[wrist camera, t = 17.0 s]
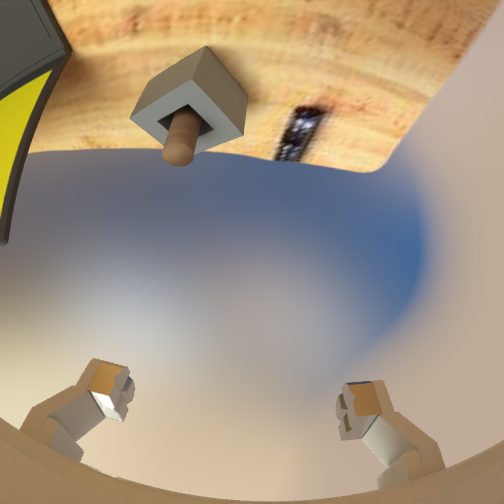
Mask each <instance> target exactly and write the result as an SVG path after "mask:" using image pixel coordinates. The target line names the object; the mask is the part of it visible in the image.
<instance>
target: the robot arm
mask: <svg viewBox="0 0 504 504" xmlns="http://www.w3.org/2000/svg"><path fill="white" fill-rule="evenodd" d="M129 373H130V371H129V369H128V367H126V366H122V365H118V364H114V363H110V362H106V361H103V360H99V359H95V358H94V359H92V360H91V361H90V362H89V364H88V365H87V367H86V369H85V371H84V372H83V374H82V376H81V377H80V379H79V381H78V382H77V384H76V386H70V387H69V388H67V389H65V390H63V391H62V392H60V393H58V394H56V395H54V396H52V397H51V398H49V399H47V400H45V401H43V402H42V403H40V404H38V405H36V406H34V407H32V409H31V410H30V412H29V414H28V416H27V417H26V419H25V421H24V422H23V424H22V426H21V428H20V430H18V429H17V428H15V427H13V426H12V425H10V424H9V423H7V422H6V421H5V420H3V419H2V418H0V504H504V440H503V441H501V442H499V443H497V444H496V445H494V446H492V447H491V448H489V449H486V450H485V451H483V452H481V453H479V454H477V455H475V456H473V457H471V458H468V459H466V460H464V461H462V462H460V463H458V464H455V465H453V466H450V467H448V468H446V467H445V464H444V461H443V459H442V455H441V452H440V450H439V447H438V444H437V442H435V440H433V439H432V438H431V437H429V436H428V435H427V434H425V433H424V432H423V431H422V430H420V429H419V428H418V427H417V426H415V425H414V424H413V423H412V422H410V421H409V420H408V419H407V418H405V417H404V416H403V415H402V414H400V413H399V412H395V411H394V408H393V405H392V402H391V400H390V397H389V394H388V391H387V389H386V386H385V383H384V381H383V380H377V381H363V382H352V383H345V384H344V385H343V387H342V392H343V393H342V394H340V395H339V397H338V399H337V402H336V414H337V418H338V419H339V420H340V421H341V423H340V425H339V431H340V437H341V440H353V439H362V441H363V442H364V443H365V444H366V445H367V447H368V448H369V449H370V450H371V451H372V452H373V453H374V454H375V455H376V456H377V458H378V459H379V460H380V461H381V462H382V463H383V464H384V465H385V466H386V467H387V469H386V470H385V471H384V472H383V473H382V474H381V475H379V477H378V478H377V482H378V487H379V489H378V490H374V491H369V492H365V493H359V494H353V495H347V496H341V497H334V498H325V499H315V500H303V501H279V502H278V501H277V502H276V501H273V502H271V501H270V502H269V501H268V502H266V501H265V502H264V501H240V500H227V499H217V498H209V497H201V496H195V495H189V494H183V493H178V492H173V491H168V490H163V489H160V488H155V487H151V486H147V485H144V484H140V483H136V482H133V481H129V480H127V479H123V478H120V477H117V476H114V475H112V474H109V473H106V472H103V471H100V470H98V469H95V468H93V467H90V466H88V465H85V464H83V463H80V461H81V458H82V456H83V453H84V452H83V449H82V448H81V447H80V446H79V445H78V444H77V443H76V441H77V440H78V439H80V438H81V437H82V436H84V435H85V434H86V433H87V432H89V431H90V430H91V429H92V428H94V427H95V426H96V425H97V424H99V423H100V422H101V421H102V420H104V419H105V417H106V418H110V419H114V420H117V421H121V422H124V419H125V417H126V414H127V412H128V407H127V404H128V403H129V402H131V401H132V399H133V396H134V391H135V386H134V382H133V380H132V379H131V378H130V377H129Z"/></svg>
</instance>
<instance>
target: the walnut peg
mask: <svg viewBox="0 0 504 504" xmlns="http://www.w3.org/2000/svg"><path fill="white" fill-rule="evenodd" d="M201 121H202V117H201V116H200V115H199V114H198V113H197V112H196V111H195V110H194V109H193V108H192V107H191V106H190V105H189V104H187V105H185V106H183V107H181V108H179V109H177V110H176V111H175V113H174V116H173V119H172V122H171V125H170V128H169V131H168V135H167V138H166V141H165V144H164V148H163V151H162V158H163V159H164V161H166V162H167V163H169V164H171V165H174V166H186V165H188V164H190V163H191V162H192V161H193V157H194V152H195V148H196V143H197V139H198V134H199V130H200V126H201Z"/></svg>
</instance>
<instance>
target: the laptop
mask: <svg viewBox="0 0 504 504" xmlns="http://www.w3.org/2000/svg"><path fill="white" fill-rule="evenodd" d="M71 50H72V49H71V47H70V45H69V43H68V41H67V40H66V38H65V36H64V34H63V32H62V30H61V28H60V26H59V25H58V23H57V21H56V19H55V17H54V15H53V13H52V11H51V9H50V7H49V5H48V3H47V1H46V0H0V246H3V245H6V244H7V243H8V240H9V233H10V226H11V220H12V214H13V209H14V204H15V199H16V194H17V190H18V186H19V182H20V178H21V174H22V170H23V166H24V163H25V160H26V157H27V154H28V150H29V147H30V144H31V141H32V139H33V136H34V133H35V130H36V128H37V125H38V122H39V120H40V117H41V115H42V112H43V110H44V108H45V105H46V103H47V101H48V99H49V96H50V94H51V92H52V90H53V88H54V86H55V84H56V82H57V80H58V78H59V76H60V74H61V72H62V70H63V68H64V67H65V65H66V63H67V61H68V59H69V58H70V57H71V53H70V51H71Z"/></svg>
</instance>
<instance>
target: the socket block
mask: <svg viewBox="0 0 504 504" xmlns="http://www.w3.org/2000/svg"><path fill="white" fill-rule="evenodd" d="M247 101H248V96H247V95H246V93H245V92H244V91H243V89H242V88H241V87H240V86H239V84H238V83H237V82H236V81H235V79H234V78H233V77H232V76H231V75H230V73H229V72H228V71H227V70H226V68H225V67H224V66H223V65H222V64H221V62H220V61H219V60H218V59H217V58H216V57H215V55H214V54H213V53H212V52H211V51H210V50H209V49H208V47H207V46H205V47H203V48H201V49H199V50H198V51H196V52H194V53H192V54H191V55H189V56H187V57H185V58H184V59H182V60H180V61H179V62H177V63H176V64H174V65H172V66H171V67H169V68H168V69H166V70H165V71H163V72H162V73H160V74H159V75H157V76H156V77H154V78H153V79H151V80H150V81H149V82H148V84H147V85H146V87H145V89H144V91H143V93H142V95H141V97H140V98H139V100H138V102H137V104H136V106H135V108H134V110H133V112H132V114H131V116H130V118H129V119H131V120H132V121H133V122H135V123H136V124H137V125H138V126H140V127H141V128H142V129H143V130H145V131H146V132H147V133H149V134H150V135H151V136H152V137H154V138H155V139H156V140H157V141H159V142H160V143H161V144H162V145H164V144H165V141H166V138H167V135H168V131H169V128H170V125H171V122H172V119H173V116H174V113H175V111H176V110H177V109H179V108H181V107H183V106H185V105H187V104H189V105H190V106H191V107H192V108H193V109H194V110H195V111H196V112H197V113H198V114H199V115H200V116H201V117H202V121H201V126H200V130H199V134H198V139H197V143H196V148H195V152H194V154H197V153H199V152H202V151H204V150H207V149H209V148H212V147H214V146H217V145H219V144H222V143H225V142H227V141H230V140H233V139H235V138H238V137H241V136H243V135H244V126H245V118H246V109H247Z"/></svg>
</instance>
